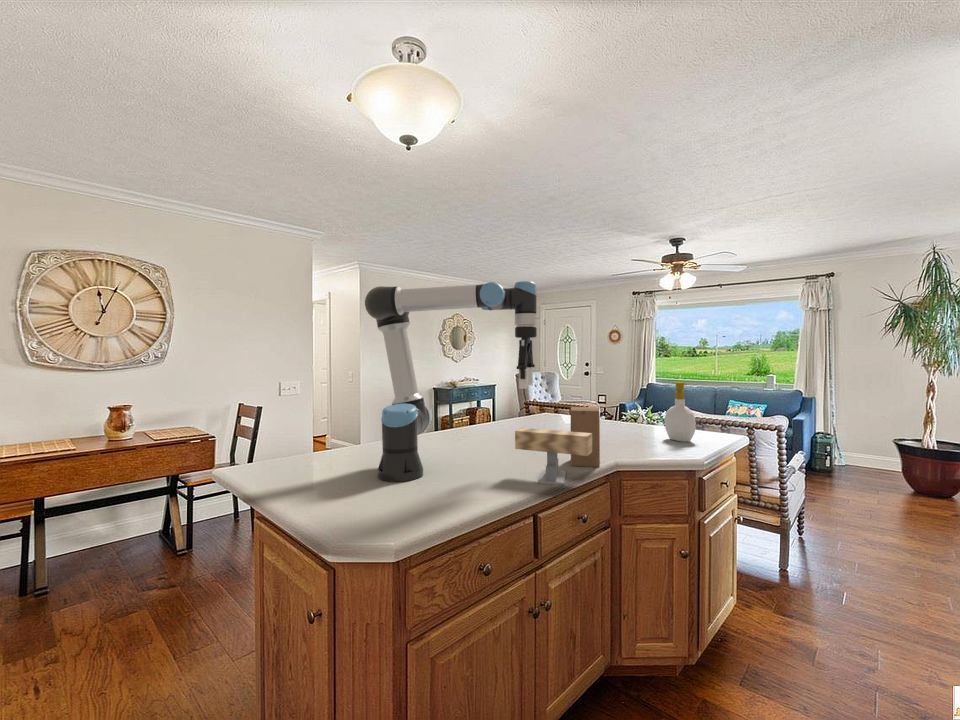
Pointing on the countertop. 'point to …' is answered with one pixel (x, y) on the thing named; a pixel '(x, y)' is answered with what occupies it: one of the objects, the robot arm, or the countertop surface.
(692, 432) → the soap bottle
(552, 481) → the bracket
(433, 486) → the countertop surface
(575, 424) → the wooden block
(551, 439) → the beam
